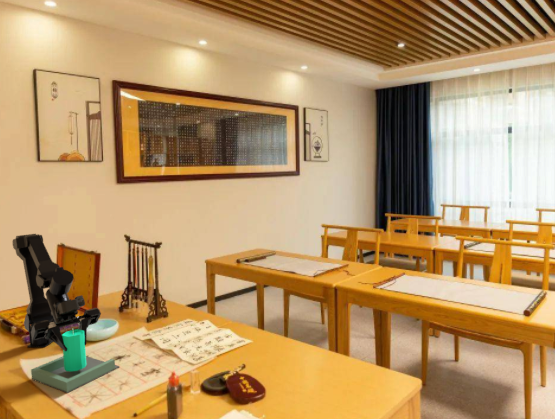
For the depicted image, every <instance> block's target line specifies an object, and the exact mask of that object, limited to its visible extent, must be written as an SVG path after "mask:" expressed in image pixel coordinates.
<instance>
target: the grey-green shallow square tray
mask: <svg viewBox="0 0 555 419" xmlns="http://www.w3.org/2000/svg"><path fill="white" fill-rule="evenodd" d="M115 360H116V359H112V358H111V359H107V360H106V361H105V360H104V361H103V360H101V359H97V358H95V357H94V358H93V357H91V356H87V355H86V364H87V365H86V367H84V368H83V369H81V370H78V371H72V372H70V371H66V370H64V358H63V356H60V357H57V358H56V359H53V360H51V361H48V362H46V363H44V364H41V365H39V366H36V367H34V368H31V369H30V373H31V380H32V379H34V380H33V381H35V380H36V381H35V382H37V381H38V383H40V382H41V384H43V385H45V386H48V387H50V388H53V389H56V390H58V391H61V392H63V393H65V394H69V393H71V392H72V391H74V390H77V389H79V388H80V387H83V386H85V385H87V384H90V383H91V382H93V381H95V380H97V379H98V378H100V377H103V376H105V375H107V374H108V373H111V372H113V371H116V370H117V369H119V368H120V365H116V362H115Z"/></svg>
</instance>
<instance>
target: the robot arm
mask: <svg viewBox="0 0 555 419" xmlns="http://www.w3.org/2000/svg"><path fill="white" fill-rule="evenodd" d="M12 247H13V248H12V249H13V250H15V254H16V256H18V258H20V260H22V261H23V262H22V263H23V269H24V274H25V280H26V285H27V290H28V296H29V303H28V305H27V307H26V314H25V317H24V320H23V325H24V329H25V330H26V331H27V332H28V333H29V336H28V337H29V344H28V345H26V346H27V348H47V346H49V345H51V344H52V343H55V344H56V345H57V346H58V347H59V348H61V349H62V351H63V350H64V351H67V347H66V346H65V345H64V342H63V338H62V335H63V334H62V332H61V329H62V328H65V327H70V326H72V325H76V324H78V327H77V329H80V330H83V331H84V335H85V346H87V333H88V332H87V330H88V329H87V328H89V326H91V325H94V324H95V325H96V323H98V322H99V320H100V317H101V314H102V312H101V311H100V309H99V308H97V307H93V308H88V309H85V310H84V311H83V314H82V315H78V313H79V311H78V310H81V309H80V308H81V307H84V306H85V305H86V301H85V299H84V297H83V295H77V296H76V297H74V299H70V297H69V294H68V293H69V292H70V289H71V288H72V285H73V281H74V277H75V276H74V274H73V273H72V272H71V271H70V270H67V269H65V268H64V267H63V266H60V265H59V264H58V263H56V262H54V261H53V260H52V258H51V256H50V254H49V252H48V250H47V248H46V246H45V243H44V238H43V235H42V234H38V233H30V234H21V235H16V236H15V238H14V239H12ZM44 289H47V290H46V291H45V290H44Z"/></svg>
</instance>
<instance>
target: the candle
mask: <svg viewBox="0 0 555 419" xmlns="http://www.w3.org/2000/svg"><path fill="white" fill-rule="evenodd" d="M61 335H62V338H63V342H64V345H65V346H66V347H67V351H64V350H63V349H62V355H63V356H62V357H63V358H64V370H66V371H70V372H72V371H78V370H81V369H83V368H84V367H86V365H87V364H86V356H87V354H86V352H87V351H86V345H85V335H84V331H83V330H80V329H78V328H76V329H71V330H67V331H65V332H64V333H62V334H61Z"/></svg>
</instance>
